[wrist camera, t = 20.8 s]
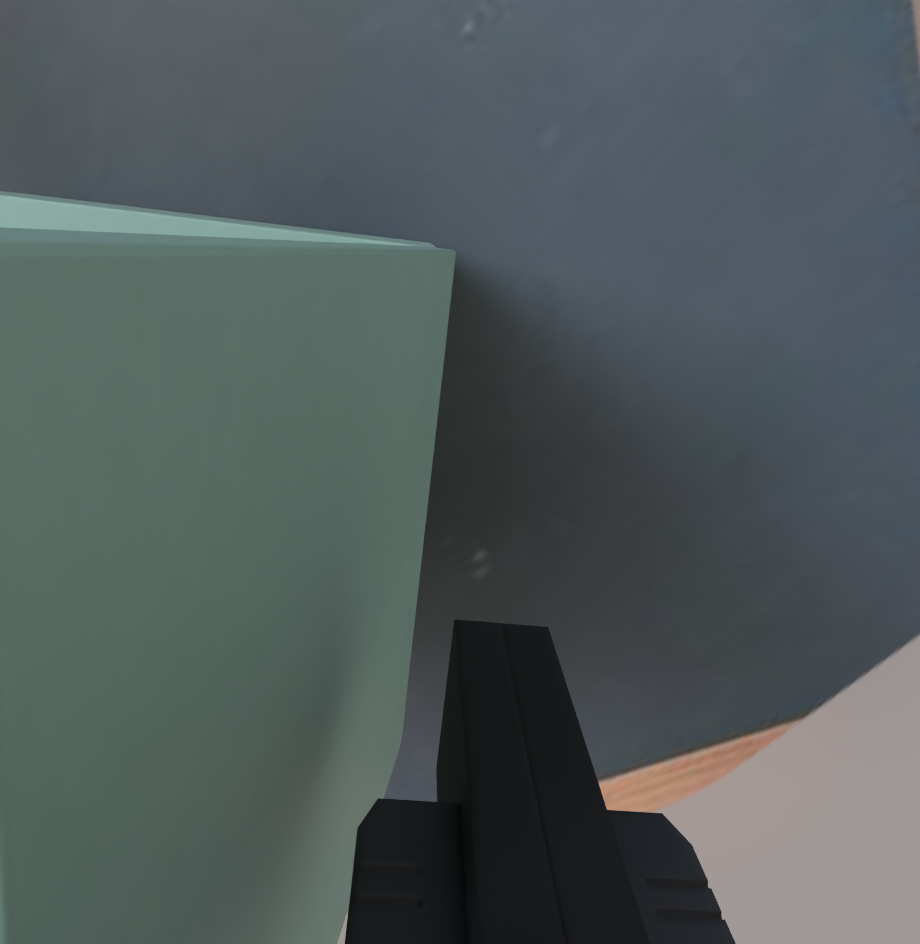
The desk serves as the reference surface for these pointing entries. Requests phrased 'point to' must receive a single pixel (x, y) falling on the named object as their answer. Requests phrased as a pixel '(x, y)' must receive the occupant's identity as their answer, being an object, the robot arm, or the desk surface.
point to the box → (157, 222)
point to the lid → (205, 574)
